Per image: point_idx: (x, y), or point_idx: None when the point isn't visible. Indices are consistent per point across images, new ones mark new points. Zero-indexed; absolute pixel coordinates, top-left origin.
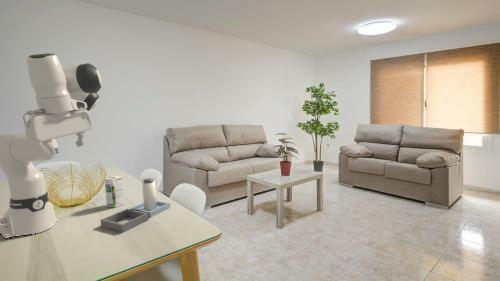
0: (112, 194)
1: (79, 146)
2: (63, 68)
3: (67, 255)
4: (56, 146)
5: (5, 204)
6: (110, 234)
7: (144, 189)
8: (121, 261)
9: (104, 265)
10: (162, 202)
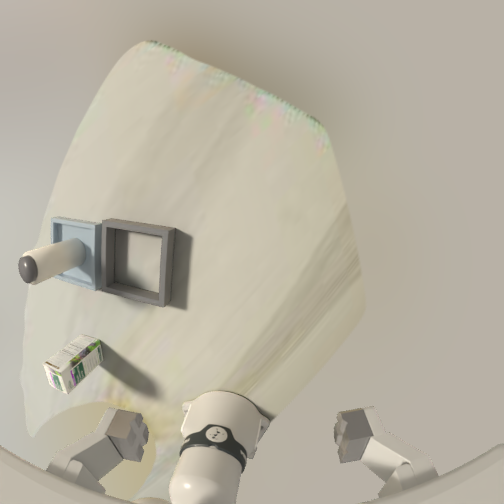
0: (83, 357)
1: (142, 418)
2: None
3: (289, 266)
4: None
5: None
6: (190, 250)
7: (50, 267)
8: (277, 135)
9: (298, 157)
10: (53, 238)
